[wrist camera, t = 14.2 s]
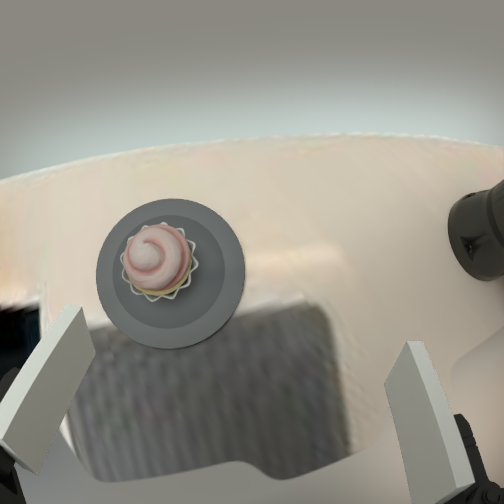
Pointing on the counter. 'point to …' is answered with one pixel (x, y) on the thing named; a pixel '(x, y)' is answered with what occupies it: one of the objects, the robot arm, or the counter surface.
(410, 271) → the counter surface
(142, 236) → the cupcake
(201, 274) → the slate plate
